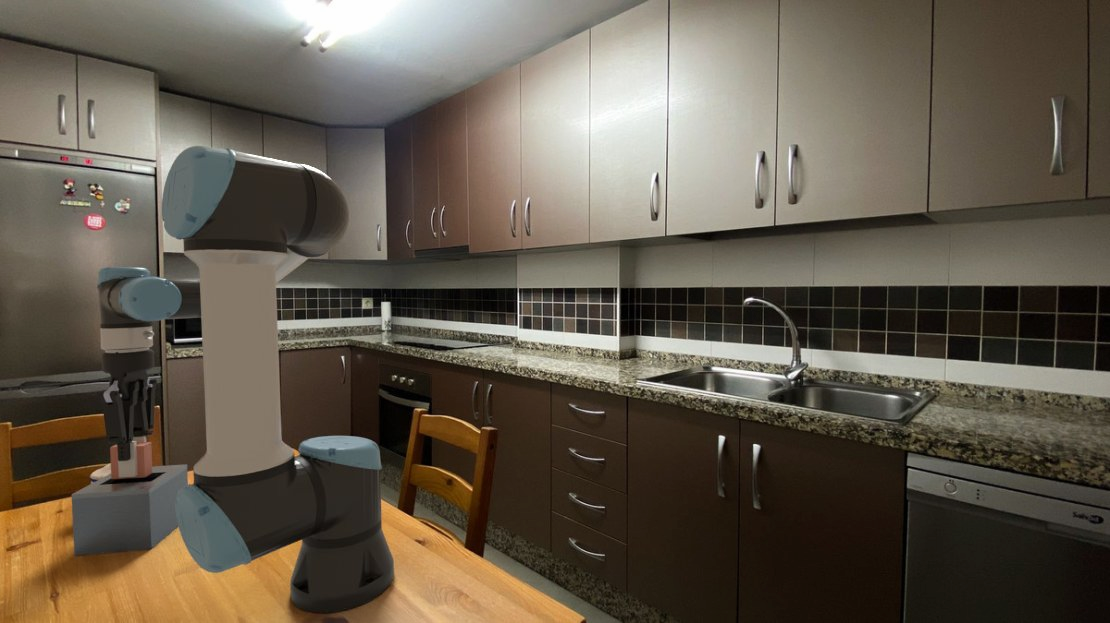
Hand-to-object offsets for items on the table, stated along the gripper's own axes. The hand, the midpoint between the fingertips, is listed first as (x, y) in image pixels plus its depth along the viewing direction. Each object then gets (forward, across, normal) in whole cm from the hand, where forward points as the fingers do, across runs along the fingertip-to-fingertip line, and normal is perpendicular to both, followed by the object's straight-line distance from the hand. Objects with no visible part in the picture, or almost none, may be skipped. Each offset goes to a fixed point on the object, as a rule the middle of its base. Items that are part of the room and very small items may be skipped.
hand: (133, 473), depth 96 cm
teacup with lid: (+12, +12, +10) cm, 20 cm away
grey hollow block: (+12, 0, 0) cm, 12 cm away
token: (0, 0, 0) cm, 1 cm away
